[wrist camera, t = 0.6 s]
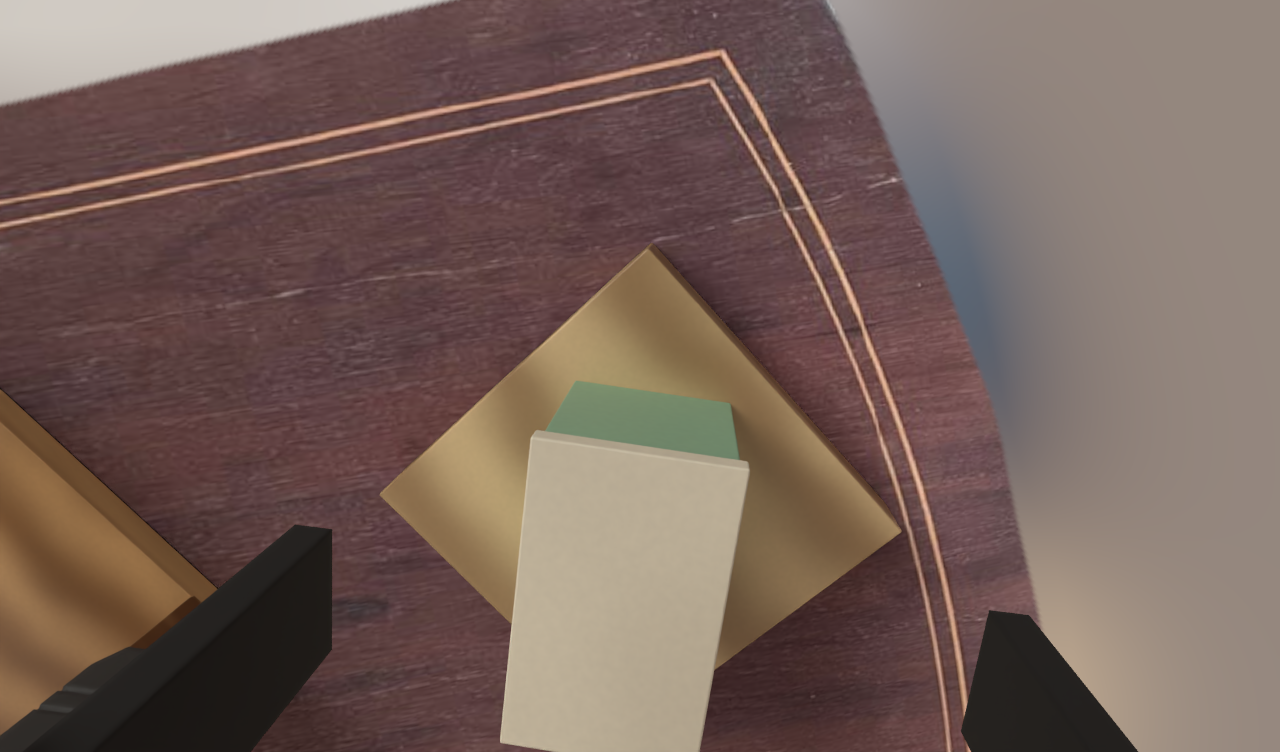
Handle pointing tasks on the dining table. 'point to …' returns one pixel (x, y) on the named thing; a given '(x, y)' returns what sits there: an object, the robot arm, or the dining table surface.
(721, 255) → the dining table surface
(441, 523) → the wooden square board
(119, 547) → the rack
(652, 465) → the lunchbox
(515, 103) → the dining table surface
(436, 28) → the dining table surface
